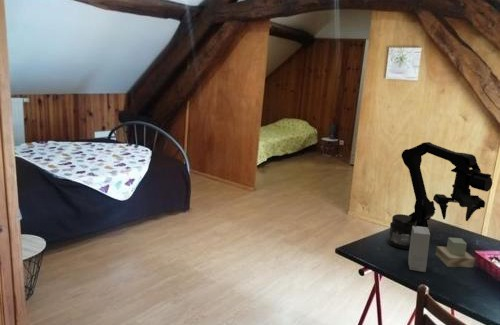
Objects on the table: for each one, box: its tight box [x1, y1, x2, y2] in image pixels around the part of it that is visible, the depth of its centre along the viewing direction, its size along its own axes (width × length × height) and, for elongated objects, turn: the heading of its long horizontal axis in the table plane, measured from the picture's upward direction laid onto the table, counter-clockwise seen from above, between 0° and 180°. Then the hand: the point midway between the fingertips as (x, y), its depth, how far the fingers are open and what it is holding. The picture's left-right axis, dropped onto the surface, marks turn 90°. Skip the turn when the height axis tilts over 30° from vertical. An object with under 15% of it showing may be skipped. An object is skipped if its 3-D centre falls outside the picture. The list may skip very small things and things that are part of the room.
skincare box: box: [407, 226, 431, 273], centre depth 149 cm, size 8×6×15 cm
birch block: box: [434, 245, 476, 268], centre depth 156 cm, size 10×10×4 cm
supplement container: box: [387, 213, 417, 250], centre depth 168 cm, size 10×10×12 cm
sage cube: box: [446, 237, 468, 256], centre depth 155 cm, size 5×5×5 cm
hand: (455, 219), depth 168 cm, fingers open, 9 cm apart
